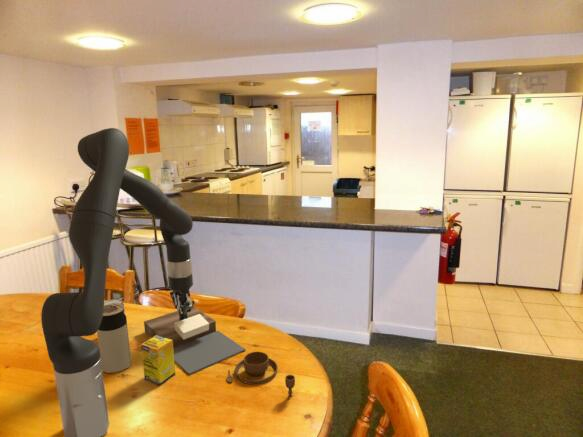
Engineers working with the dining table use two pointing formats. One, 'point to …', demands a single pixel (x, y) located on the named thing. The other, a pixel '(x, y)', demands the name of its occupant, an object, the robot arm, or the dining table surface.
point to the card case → (191, 326)
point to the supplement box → (158, 359)
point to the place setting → (260, 370)
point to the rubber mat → (205, 352)
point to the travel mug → (114, 339)
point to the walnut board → (166, 327)
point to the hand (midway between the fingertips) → (183, 322)
